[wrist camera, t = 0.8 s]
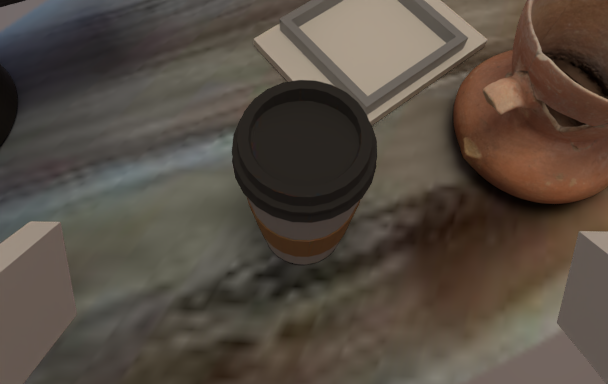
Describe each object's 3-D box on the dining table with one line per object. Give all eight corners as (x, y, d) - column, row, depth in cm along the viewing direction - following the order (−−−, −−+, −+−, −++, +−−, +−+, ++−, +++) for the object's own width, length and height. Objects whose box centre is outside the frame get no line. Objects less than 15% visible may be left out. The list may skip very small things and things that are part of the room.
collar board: (254, 46, 47) (251, 27, 44) (389, -34, 51) (393, -54, 49) (345, 143, 42) (348, 129, 40) (484, 46, 47) (493, 28, 45)
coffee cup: (263, 176, 41) (245, 62, 27) (358, 191, 40) (389, 83, 27) (242, 269, 38) (210, 193, 24) (346, 287, 37) (374, 219, 23)
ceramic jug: (482, 245, 39) (583, 166, 26) (403, 105, 44) (453, -19, 31) (658, 175, 42) (826, 73, 29) (565, 52, 47) (671, -81, 34)
